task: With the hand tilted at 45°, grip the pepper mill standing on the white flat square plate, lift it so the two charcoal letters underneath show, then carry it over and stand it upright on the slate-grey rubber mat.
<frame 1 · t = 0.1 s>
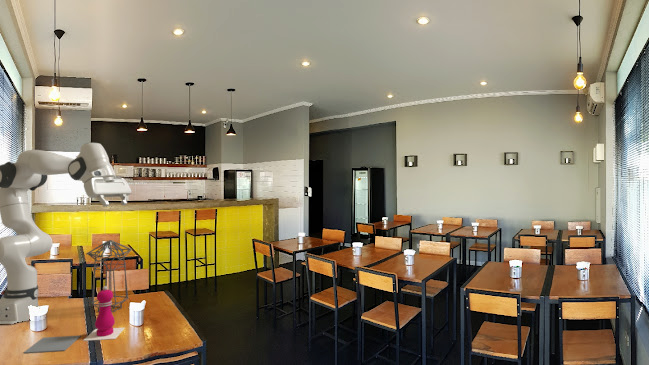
hand: (115, 205, 166), 54 cm above the table, tool tilted 30°, fingers open, 8 cm apart
geometric lantern: (109, 310, 196), on the table
slate mat: (53, 344, 155), on the table
pepper mill: (104, 334, 166), resting on white flat square plate
white flat square plate: (104, 334, 166), on the table
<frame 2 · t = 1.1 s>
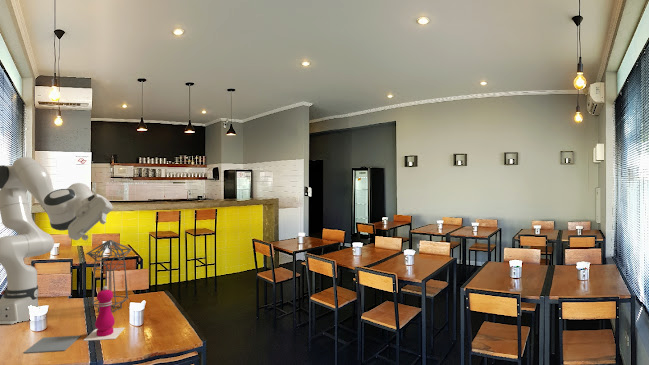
hand: (94, 230, 159), 44 cm above the table, tool tilted 55°, fingers open, 8 cm apart
nothing on the table moved.
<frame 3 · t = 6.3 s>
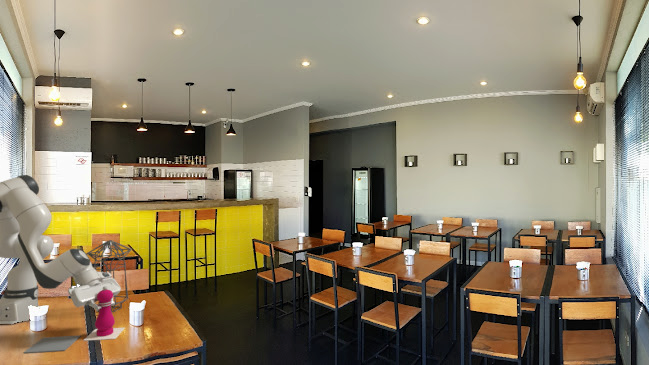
hand: (106, 307, 166), 11 cm above the table, tool tilted 45°, fingers closed on pepper mill, 5 cm apart
pepper mill: (104, 334, 166), resting on white flat square plate, touching gripper
everything else where it was.
when the fingers open (13 cm above the table, at t = 13.6 s): pepper mill stays where it is, resting on slate mat.
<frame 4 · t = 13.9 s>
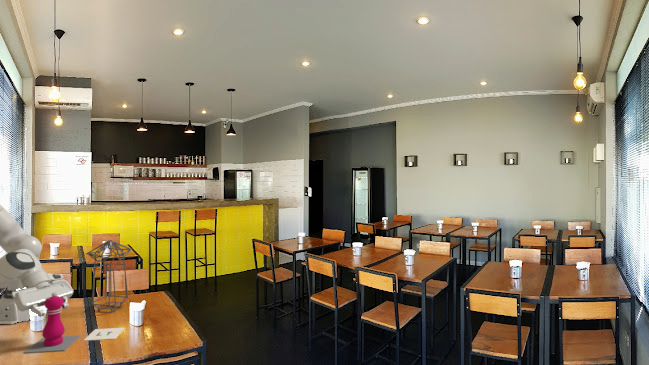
hand: (54, 311, 155), 13 cm above the table, tool tilted 45°, fingers open, 8 cm apart
pepper mill: (53, 343, 155), resting on slate mat
everything else where it was.
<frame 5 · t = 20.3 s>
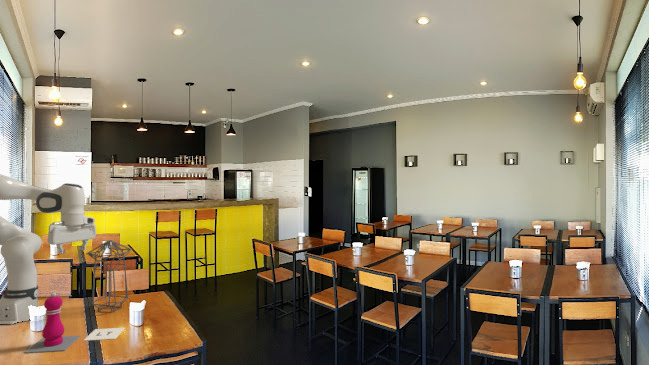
hand: (72, 251, 173), 33 cm above the table, tool pointing down, fingers open, 8 cm apart
nothing on the table moved.
at the end: pepper mill inside the target area on the slate mat (0.0 cm from its centre), point 0.2 cm above the slate mat's base; pepper mill tilted 0°; pepper mill moved 17.9 cm from its start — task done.
